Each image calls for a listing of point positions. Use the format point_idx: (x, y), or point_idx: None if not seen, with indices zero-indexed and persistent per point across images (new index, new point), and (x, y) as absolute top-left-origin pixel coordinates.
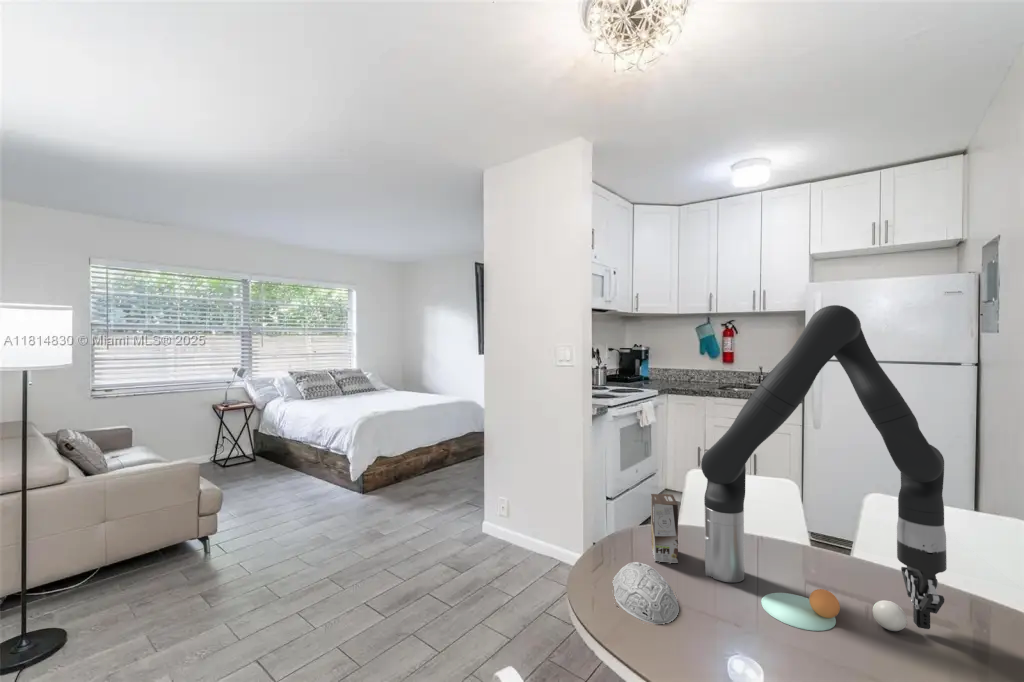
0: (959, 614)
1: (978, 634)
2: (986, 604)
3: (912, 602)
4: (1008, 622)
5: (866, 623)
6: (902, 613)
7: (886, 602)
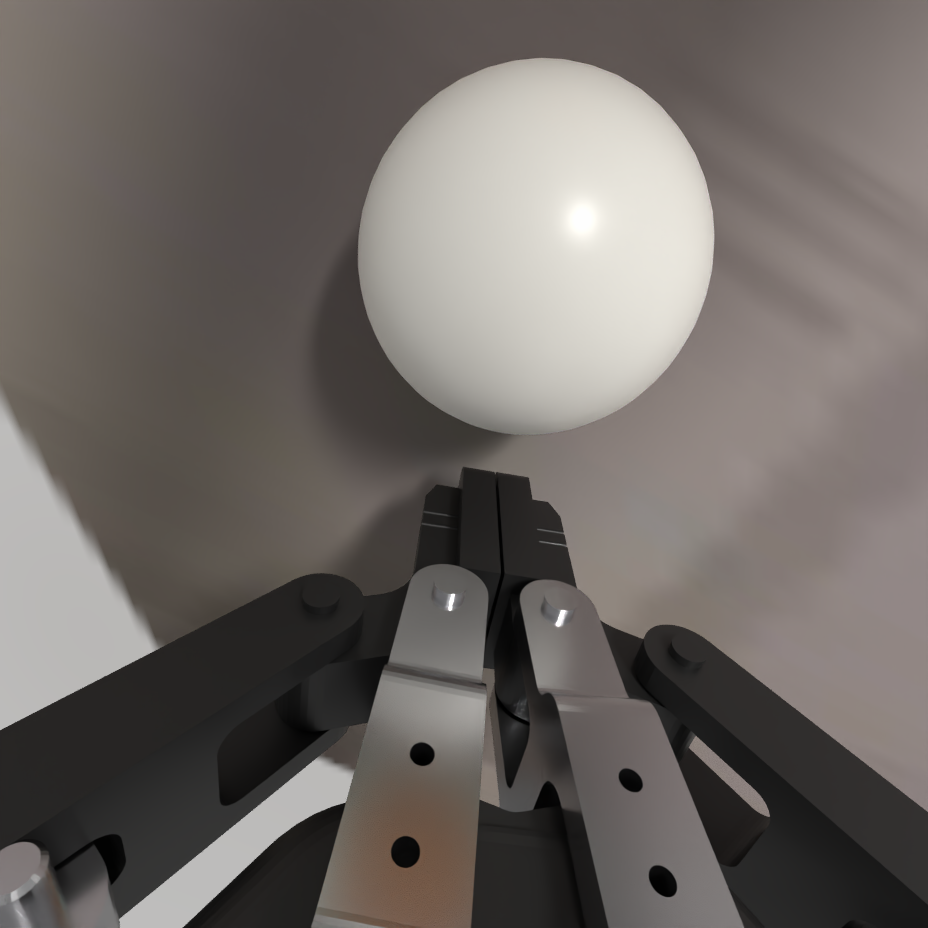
0: (737, 778)
1: None
2: None
3: (546, 597)
4: None
5: (593, 18)
6: (421, 383)
7: (546, 257)
